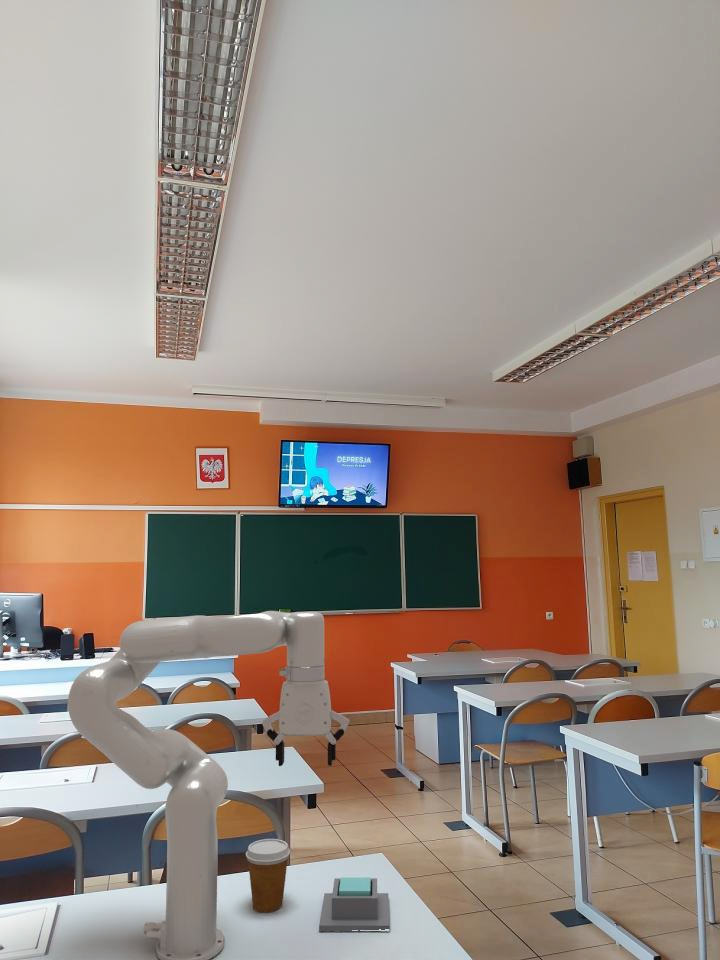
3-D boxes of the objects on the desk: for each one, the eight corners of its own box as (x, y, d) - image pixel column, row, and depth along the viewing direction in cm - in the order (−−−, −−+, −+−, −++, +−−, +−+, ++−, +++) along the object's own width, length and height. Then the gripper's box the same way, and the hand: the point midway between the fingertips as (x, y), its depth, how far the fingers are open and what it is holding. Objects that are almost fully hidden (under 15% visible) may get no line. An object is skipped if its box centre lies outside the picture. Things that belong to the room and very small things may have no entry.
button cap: (339, 912, 139) (339, 891, 139) (340, 897, 145) (340, 877, 146) (370, 912, 139) (370, 891, 139) (370, 897, 145) (370, 877, 146)
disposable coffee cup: (295, 911, 143) (295, 850, 145) (250, 920, 140) (251, 857, 142) (283, 892, 152) (283, 835, 154) (241, 900, 149) (241, 841, 150)
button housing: (319, 932, 135) (318, 903, 136) (324, 899, 149) (324, 873, 149) (389, 932, 134) (389, 903, 135) (388, 899, 148) (388, 873, 149)
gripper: (259, 677, 133) (258, 769, 130) (348, 676, 132) (348, 769, 130) (265, 672, 140) (265, 759, 138) (349, 671, 140) (350, 759, 137)
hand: (305, 764), depth 134 cm, fingers open, 9 cm apart
